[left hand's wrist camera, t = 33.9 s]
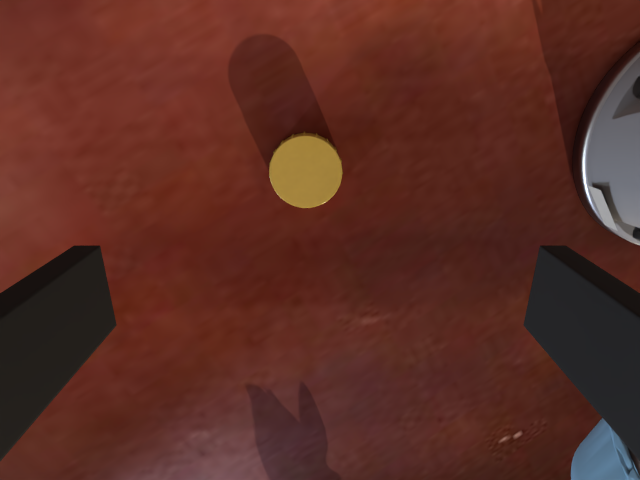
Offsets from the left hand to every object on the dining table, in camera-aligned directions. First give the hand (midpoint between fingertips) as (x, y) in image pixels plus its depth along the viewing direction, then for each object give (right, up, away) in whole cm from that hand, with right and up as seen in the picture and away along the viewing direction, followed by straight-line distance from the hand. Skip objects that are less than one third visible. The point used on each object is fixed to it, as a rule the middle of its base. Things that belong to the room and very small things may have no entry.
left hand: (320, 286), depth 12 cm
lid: (-1, +6, +14) cm, 16 cm away
